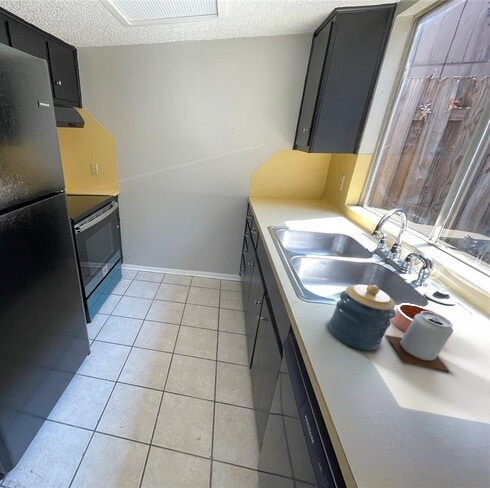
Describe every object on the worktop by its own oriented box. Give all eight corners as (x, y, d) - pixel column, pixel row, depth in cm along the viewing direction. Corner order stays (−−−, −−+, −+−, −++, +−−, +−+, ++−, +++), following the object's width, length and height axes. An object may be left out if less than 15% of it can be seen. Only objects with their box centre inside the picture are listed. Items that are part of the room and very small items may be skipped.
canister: (389, 345, 74) (416, 295, 67) (358, 356, 70) (384, 304, 63) (347, 316, 86) (366, 271, 78) (318, 324, 81) (336, 277, 74)
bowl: (426, 320, 86) (433, 308, 84) (451, 346, 75) (460, 333, 73) (384, 312, 89) (390, 300, 87) (403, 336, 78) (410, 323, 76)
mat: (425, 344, 76) (426, 343, 75) (448, 372, 67) (449, 371, 67) (386, 336, 78) (386, 335, 78) (403, 361, 69) (404, 360, 69)
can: (398, 351, 72) (417, 317, 67) (399, 337, 77) (417, 305, 72) (434, 367, 67) (458, 332, 62) (433, 351, 72) (455, 318, 68)
